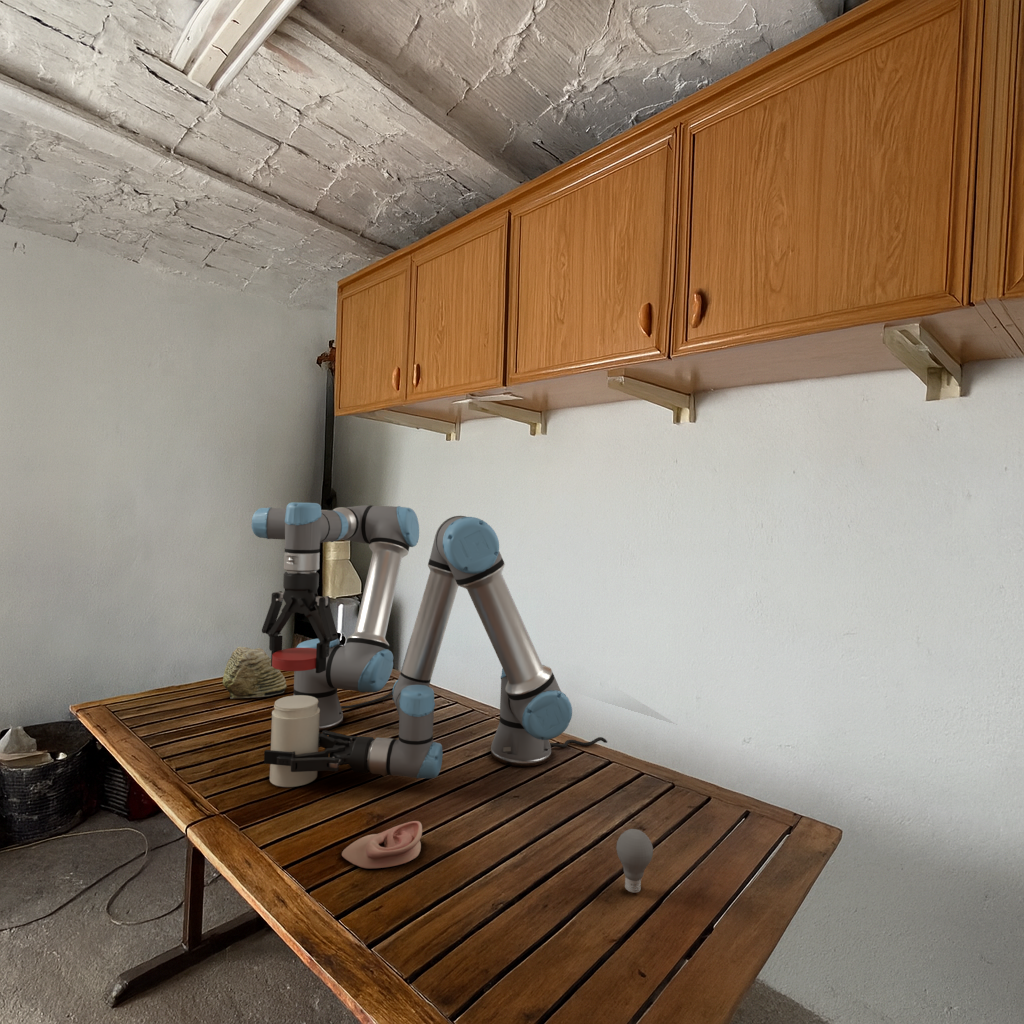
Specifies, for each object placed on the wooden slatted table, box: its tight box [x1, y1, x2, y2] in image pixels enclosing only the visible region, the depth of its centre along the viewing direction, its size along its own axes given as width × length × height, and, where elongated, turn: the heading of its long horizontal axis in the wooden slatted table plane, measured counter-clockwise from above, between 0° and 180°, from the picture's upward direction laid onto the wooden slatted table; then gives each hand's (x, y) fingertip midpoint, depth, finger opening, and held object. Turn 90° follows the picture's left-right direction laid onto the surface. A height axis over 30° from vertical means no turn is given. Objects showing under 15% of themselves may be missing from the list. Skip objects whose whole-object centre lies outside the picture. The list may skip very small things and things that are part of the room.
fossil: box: [222, 646, 288, 699], centre depth 198 cm, size 9×18×15 cm, turn 132°
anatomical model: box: [341, 820, 423, 870], centre depth 114 cm, size 13×4×12 cm
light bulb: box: [615, 828, 654, 894], centre depth 106 cm, size 6×6×10 cm
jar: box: [268, 695, 320, 788], centre depth 142 cm, size 10×10×17 cm
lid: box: [272, 647, 316, 672], centre depth 142 cm, size 11×11×2 cm
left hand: (298, 668), depth 142 cm, fingers closed on lid, 11 cm apart
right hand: (276, 747), depth 143 cm, fingers closed on jar, 10 cm apart
